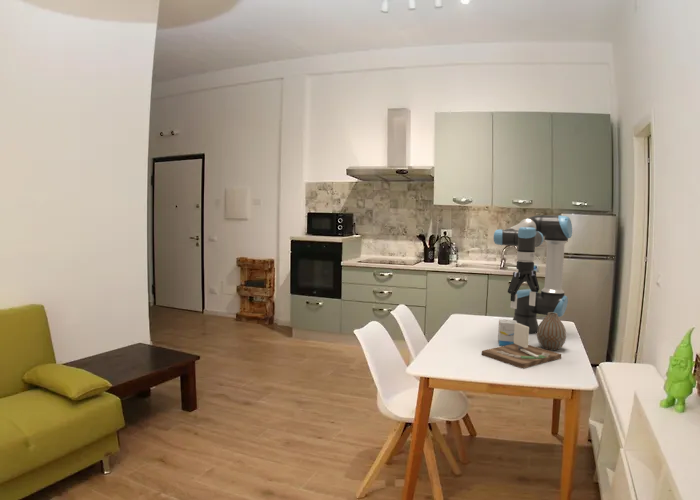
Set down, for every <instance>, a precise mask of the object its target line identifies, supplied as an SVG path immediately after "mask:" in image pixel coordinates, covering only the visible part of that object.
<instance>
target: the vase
mask: <svg viewBox="0 0 700 500" xmlns="http://www.w3.org/2000/svg"><path fill="white" fill-rule="evenodd" d="M536 337H537V341H538V343H539V345H540V346H541V347H542V349H545V350H548V351H558V350H559V349H561V348H562V347H563V346H564V344H565V342H566V339H567V332H566V328H565V326H564V323H563V322H562V321H561V319H560V317H558V314H557V313H553V312H548V314H547V315H545V317H544V318H543V320H541V322H540V323H539V324H538V329H537V333H536Z"/></svg>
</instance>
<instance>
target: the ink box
mask: <svg viewBox="0 0 700 500" xmlns="http://www.w3.org/2000/svg"><path fill="white" fill-rule="evenodd" d="M515 323H517V321H516V320H513V319H501V318H500V319H498V331H497V332H498V333H497V343H498V345H499V347H501V346H506V345H511V344H515V343H514V327H515Z"/></svg>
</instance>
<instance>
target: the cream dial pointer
mask: <svg viewBox="0 0 700 500" xmlns="http://www.w3.org/2000/svg"><path fill="white" fill-rule="evenodd" d="M529 336H530V334H529V327H528V326H525V325H522V324H520V323H515V327H514V343H515V344H517V345H518V350H521V351H523V352H525V353H527V354H529V355H532V356H534V357H539V356H538V355H536V354H534V353H531V352H529V351H527V350H525V349H523V347H524V348H528V345H529V338H530V337H529Z"/></svg>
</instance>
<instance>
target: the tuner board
mask: <svg viewBox="0 0 700 500" xmlns="http://www.w3.org/2000/svg"><path fill="white" fill-rule="evenodd" d="M523 349H525V350H527V351H529V352H531V353H534V354H536V355H538V356H539V357H534V356H532V355H529V354H527V353H525V352H523V351H521V350H518V345H517V344H511V345H506V346H498V347H493V348H489V349H484V350H481V356H483V357H486V358H490V359H494V361H495V360H496V361H498V362H502V363H504V364H508V365H510V366H514V367H517V368H520V369H522V368H523V369H527V368H531V367H534V366H537V365H541V364H545V363H549V362H552V361H556V360H561V359H562V354H561V353H559V352H555V351H553V350H548V349H544V348H541V347H538V346H534V345H530V344H528V348H524V347H523Z"/></svg>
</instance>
